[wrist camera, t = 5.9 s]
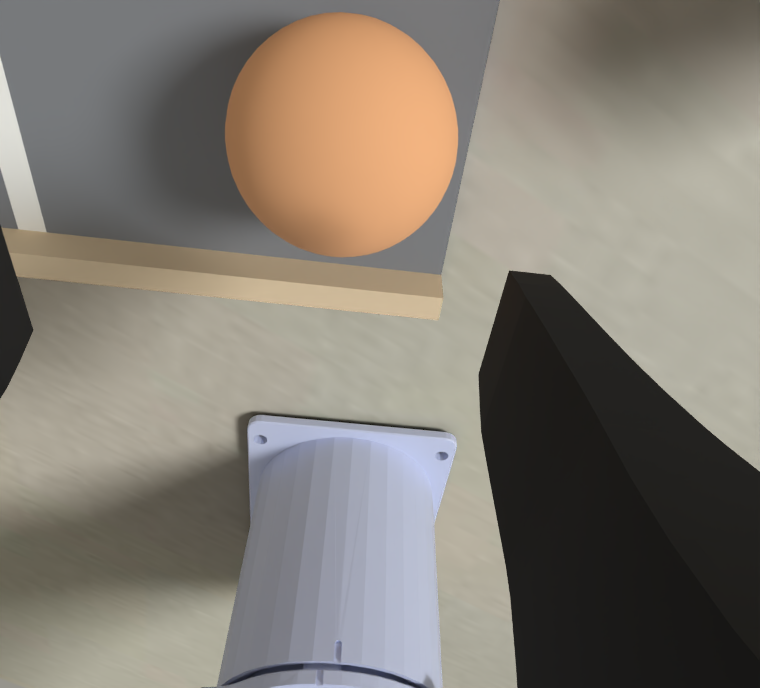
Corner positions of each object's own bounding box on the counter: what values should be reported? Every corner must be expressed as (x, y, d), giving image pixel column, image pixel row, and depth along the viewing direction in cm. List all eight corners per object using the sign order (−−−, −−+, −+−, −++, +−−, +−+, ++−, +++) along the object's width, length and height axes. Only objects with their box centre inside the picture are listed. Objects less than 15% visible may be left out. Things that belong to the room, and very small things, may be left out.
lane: (435, 285, 20) (439, 333, 18) (-298, 207, 18) (-374, 249, 17) (528, -158, 13) (550, -153, 11) (-650, -334, 11) (-850, -363, 10)
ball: (396, 188, 18) (472, 288, 14) (217, 199, 16) (252, 315, 13) (422, -10, 15) (527, 56, 11) (201, -19, 13) (241, 54, 9)
